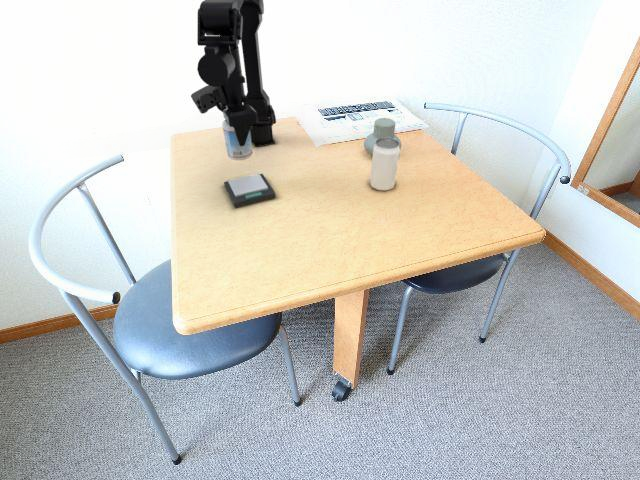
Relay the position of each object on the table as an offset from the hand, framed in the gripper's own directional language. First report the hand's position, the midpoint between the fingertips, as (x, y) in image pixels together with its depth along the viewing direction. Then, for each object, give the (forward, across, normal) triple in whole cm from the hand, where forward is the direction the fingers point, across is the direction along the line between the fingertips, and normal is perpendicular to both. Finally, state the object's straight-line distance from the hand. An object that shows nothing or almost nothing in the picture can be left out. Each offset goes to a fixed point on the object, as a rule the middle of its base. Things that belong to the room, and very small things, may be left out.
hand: (238, 140), depth 88 cm
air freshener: (+13, -1, +42) cm, 44 cm away
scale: (+13, +3, 0) cm, 13 cm away
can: (+13, +14, +33) cm, 38 cm away
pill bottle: (+4, 0, 0) cm, 4 cm away
